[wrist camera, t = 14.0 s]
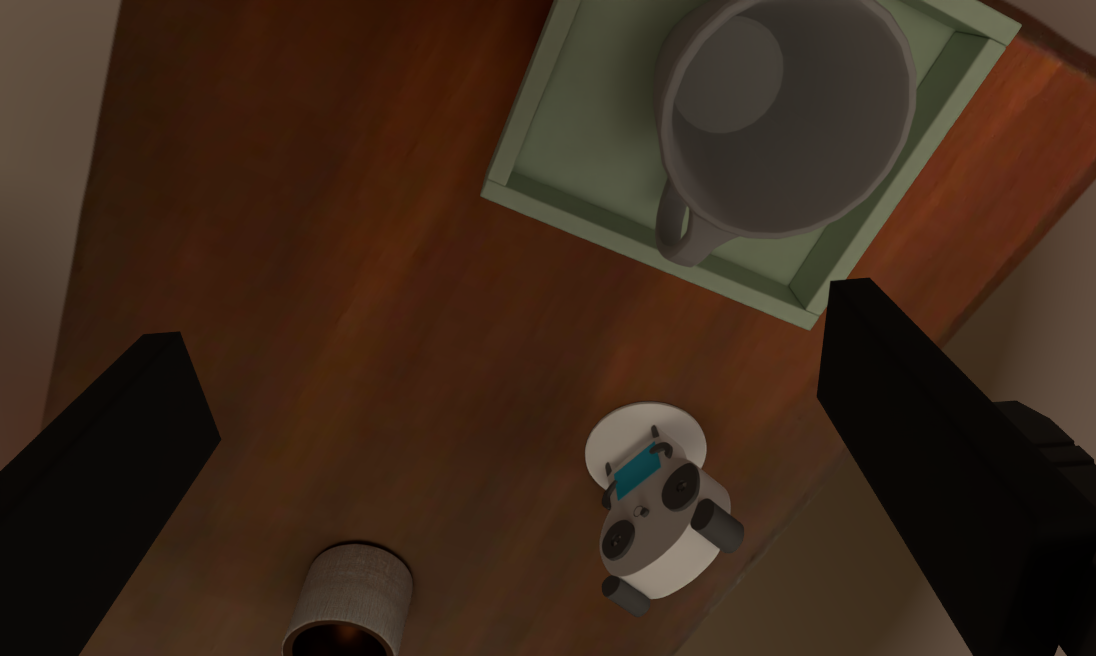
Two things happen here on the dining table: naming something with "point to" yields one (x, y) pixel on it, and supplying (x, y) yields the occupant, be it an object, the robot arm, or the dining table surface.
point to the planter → (351, 604)
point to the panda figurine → (656, 503)
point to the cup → (776, 118)
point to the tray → (634, 154)
